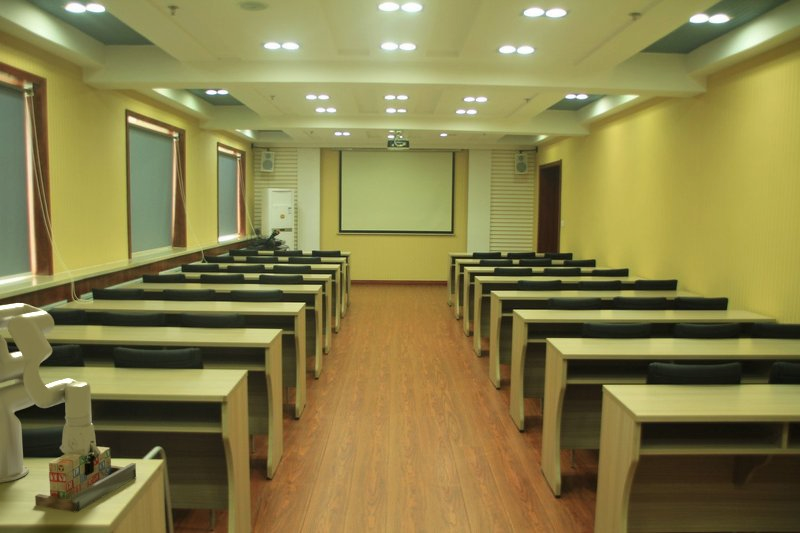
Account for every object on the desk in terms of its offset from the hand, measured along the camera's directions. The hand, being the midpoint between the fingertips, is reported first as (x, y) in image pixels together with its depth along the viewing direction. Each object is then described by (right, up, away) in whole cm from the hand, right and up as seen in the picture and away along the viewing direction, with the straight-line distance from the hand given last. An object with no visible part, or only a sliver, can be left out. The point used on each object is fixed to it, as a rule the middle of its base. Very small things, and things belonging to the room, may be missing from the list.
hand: (80, 471), depth 203 cm
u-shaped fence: (+3, -6, 0) cm, 7 cm away
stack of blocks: (0, -5, +1) cm, 5 cm away
